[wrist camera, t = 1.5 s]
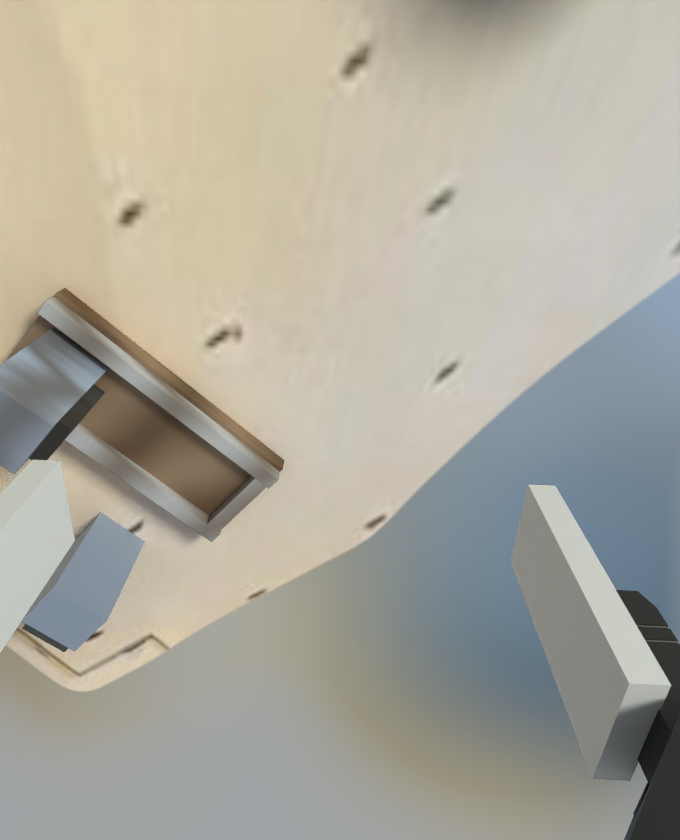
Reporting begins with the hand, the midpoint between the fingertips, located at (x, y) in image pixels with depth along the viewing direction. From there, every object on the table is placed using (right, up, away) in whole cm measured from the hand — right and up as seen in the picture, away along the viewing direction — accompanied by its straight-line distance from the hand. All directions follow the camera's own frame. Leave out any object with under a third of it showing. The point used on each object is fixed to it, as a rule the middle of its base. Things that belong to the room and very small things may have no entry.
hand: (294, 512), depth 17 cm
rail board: (-12, +3, +24) cm, 27 cm away
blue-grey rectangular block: (-17, -7, +29) cm, 34 cm away
